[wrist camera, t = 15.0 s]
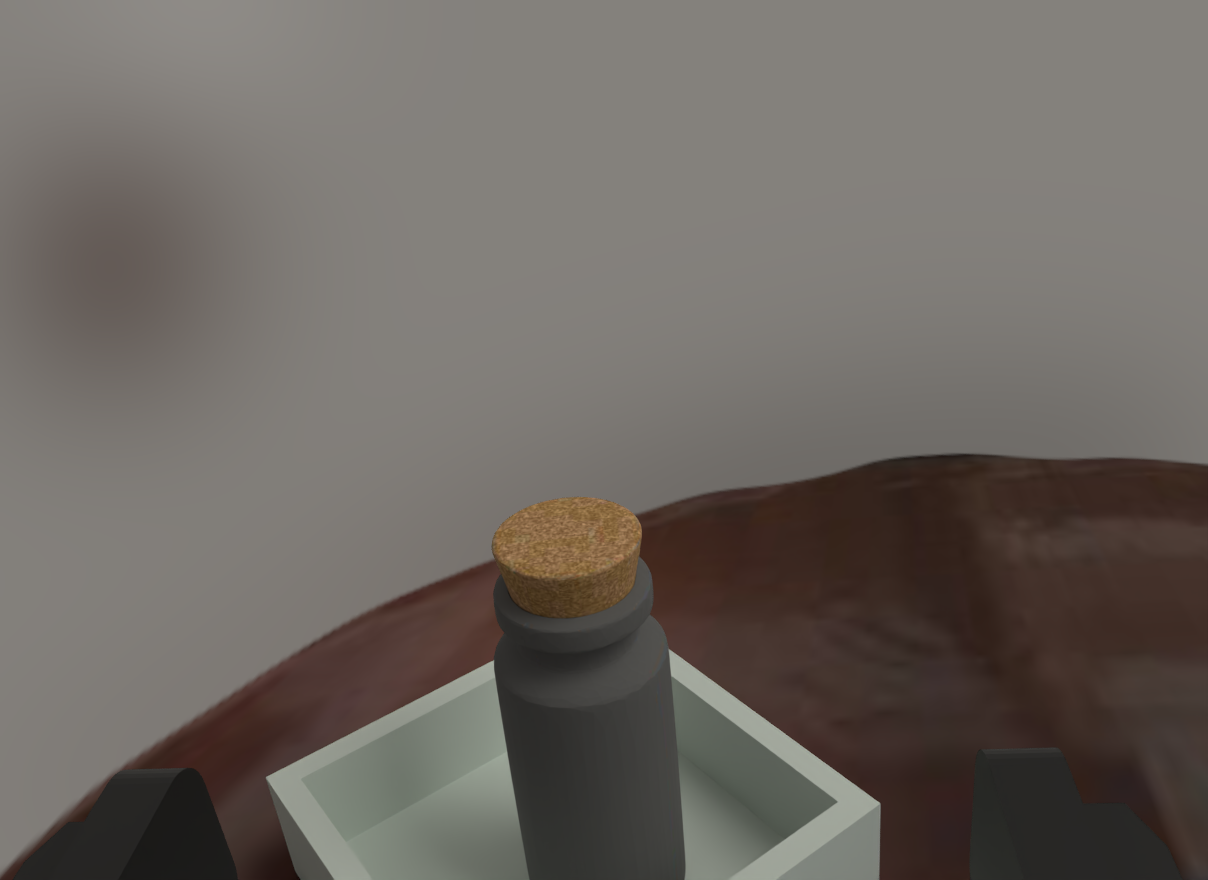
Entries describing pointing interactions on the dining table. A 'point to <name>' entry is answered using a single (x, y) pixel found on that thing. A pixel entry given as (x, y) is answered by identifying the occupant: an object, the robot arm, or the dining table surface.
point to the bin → (488, 808)
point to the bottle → (586, 695)
